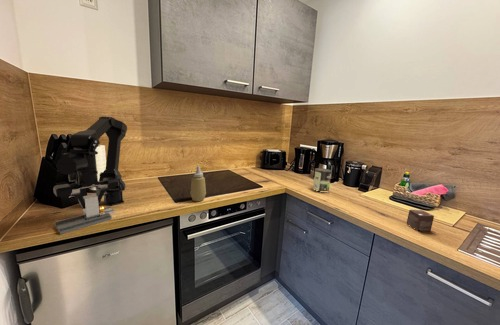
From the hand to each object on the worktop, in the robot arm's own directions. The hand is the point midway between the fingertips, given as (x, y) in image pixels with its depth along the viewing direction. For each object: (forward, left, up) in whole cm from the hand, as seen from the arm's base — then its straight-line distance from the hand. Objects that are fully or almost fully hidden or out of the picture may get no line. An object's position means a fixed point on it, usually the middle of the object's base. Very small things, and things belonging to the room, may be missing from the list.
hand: (90, 206), depth 76 cm
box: (-88, +104, -6) cm, 136 cm away
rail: (+2, 0, -6) cm, 6 cm away
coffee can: (-109, +55, -6) cm, 122 cm away
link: (-2, 0, -4) cm, 5 cm away
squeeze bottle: (-42, +12, -6) cm, 44 cm away
